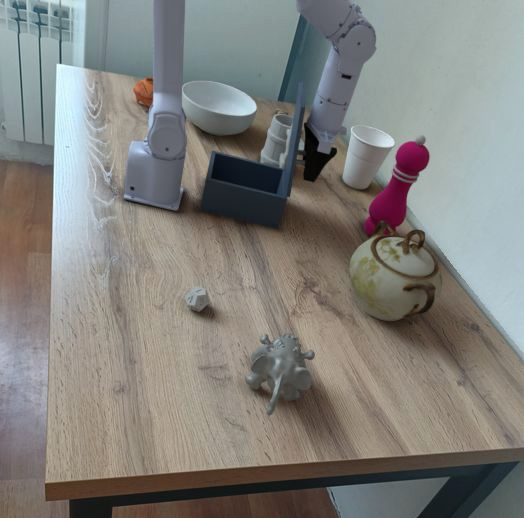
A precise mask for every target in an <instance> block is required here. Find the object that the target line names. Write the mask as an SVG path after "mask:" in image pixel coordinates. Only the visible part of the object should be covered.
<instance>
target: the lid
mask: <svg viewBox="0 0 524 518" xmlns="http://www.w3.org/2000/svg"><path fill="white" fill-rule="evenodd" d="M305 112H306V99H305V87H304V82H303V81H299V82H298V86H297V93H296V99H295V107H294V112H293V117H294V118H293V125H292V131H291V137H290V144H289V150H288V156H287V163H286V197H287V198H291V195H292V188H293V182H294V176H295V173H296V166H297V165H298V166H302V165H304V166H305V160H302V159H298V156H302V157H303V156H306V151H305V150H298V148H299V142H300V137H301V135H302V131H301V130H303V127H302V125H303V126H304V118H305ZM304 166H303V167H304Z"/></svg>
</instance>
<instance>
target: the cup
mask: <svg viewBox="0 0 524 518" xmlns="http://www.w3.org/2000/svg"><path fill="white" fill-rule="evenodd" d="M395 146H396V140H395V139H394V138H393V137H392V136H391V135H390V134H389V133H387V132H385V131H383V130H380V129H379V128H376V127H372V126H369V125H363V124H358V125H357V124H356V125H352V127H351V128H350V137H349V141H348V148H347V152H346V158H345V162H344V167H343V172H342V178H341V179H342V181H343V182H344V183H345V184H346V185H347V186H348V187H350V188H352V189H356V190H366V189H367V188H369V186H370V185H371V183H372V181H373V180H374V178H375V177H376V175H377V173H378V172H379V170H380V168H381V167H382V165H383V164H384V162H385V160H386V159H387V158H388V155H389V154H390V152H391V151H392V149H393V148H395Z"/></svg>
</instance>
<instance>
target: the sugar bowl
mask: <svg viewBox="0 0 524 518" xmlns="http://www.w3.org/2000/svg"><path fill="white" fill-rule="evenodd" d="M380 229H381V230H380ZM386 230H388V232H389V233H390V235H383V234H384V233H385V231H386ZM415 235H417V236H418V238H419V241H416V240H414V239H412V237H413V236H415ZM425 241H426V232H425V231H424V230H422V229H417V228H415V229H412V230H410V231H409V232H408V233H407V234H406V235H405V236H403V235H399V234H398V233H397V231H396V232H395V231H394V230H393V229H392V228H391V227H390V225H389V224H388V223H387V222H386V221H380V222H378V223H377V224H376V226H375V228H374V230H373V236H370V238H369V239H368V240H366V241H364V242H363V243H361V244H360V245H359V246H358V247H357V249H355V250H354V252H353V254H352V255H351V257H350V261H349V266H348V267H349V269H348V273H349V280H350V284H351V287H352V289H353V293H354V295H355V299H356V301H357V304H358V305H359V307H360V308H361V309H362V310H363V311H364V312H365V313H366V314H368V315H369V316H371V317H373V318H375V319H378V320H381V321H386V322H396V321H400V320H401V319H405V318H411V317H413V316H416V315H423V314H425V313H427V312H428V311H429V310H430V309H431V308H432V307H433V305H434V304H435V302H436V301H437V300H438V299H439V296H440V294H441V292H442V288H443V274H442V271H441V268H440V266H439V262H438V260H437V258H436V257H435V255H434V254H433V253H432V251H430V250H429V249H428V247H426V246H424V244H425Z"/></svg>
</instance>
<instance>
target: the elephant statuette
mask: <svg viewBox="0 0 524 518" xmlns="http://www.w3.org/2000/svg"><path fill="white" fill-rule="evenodd" d="M259 343H261V346H258V347H257V348H256V349H254V350H253V351H252V353H251V356H250V358H251V362H252V364H251V367H250V371H251V373H252V374H249V375H247V376H245V377H246V378H245V383H246V384H247V385H248V386H249V387H250V388H251V389H253V390H259V389H260V388H261V385H262V384H264V383H265V382H266V384H267V387H269V390H271V391H272V396H271V398H270V401H269V403H268V405H267V408H266V411H265V412H266V413H265V414H266V415H267V416H272V415H273V414H274V411H275V409H276V407H277V403H278V401H279V396H280V394H281V393H282V392H283V391H284V392H283V399H284V400H285V401H287V402H289V401H297V400H298V399H300V396H301V394H300V391H299V390H302V391H303V390H304V391H305V390H306V391H308V390H309V389H310V388H311V386H312V381H313V378H312V373H311V372H310V370H309V369H308V368H307V363H306V360H308V361H313V360H314V359H315V358H316V354H315V351H314V350H313V349H311V348H310V349H308V350H307V351H305V352H304V353H303V352H302V349H301V347H302V344H301V343H300V341H299V337H298V336H294V335H293V334H292V333H291V332H290V333H286V332H283V333H282V334H281V336H277V337H276V339H275V340H270V338H269V335H268V334H267V333H265V334H262V335H260V337H259Z"/></svg>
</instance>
